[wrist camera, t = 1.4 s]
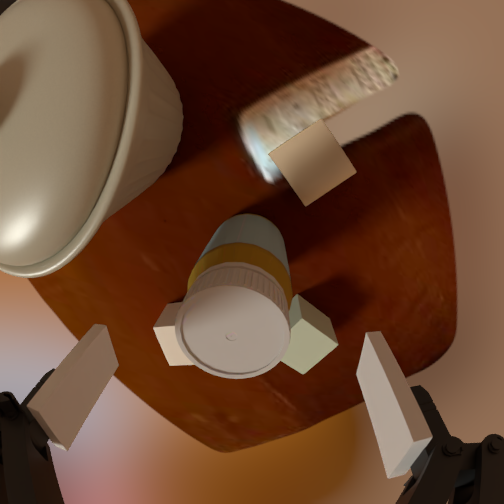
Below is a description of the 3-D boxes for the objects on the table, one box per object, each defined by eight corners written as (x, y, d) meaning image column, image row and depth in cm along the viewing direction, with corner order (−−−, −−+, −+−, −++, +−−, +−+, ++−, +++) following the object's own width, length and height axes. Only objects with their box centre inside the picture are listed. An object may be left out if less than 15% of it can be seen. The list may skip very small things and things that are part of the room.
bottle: (278, 206, 27) (291, 266, 13) (288, 274, 30) (303, 377, 15) (207, 218, 28) (150, 285, 14) (221, 283, 30) (187, 386, 16)
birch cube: (268, 154, 26) (268, 154, 21) (311, 124, 25) (321, 118, 20) (298, 197, 27) (305, 206, 22) (341, 168, 26) (356, 172, 21)
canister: (216, 211, 28) (109, 348, 8) (68, 219, 29) (-76, 297, 9) (212, 34, 22) (126, -114, 2) (63, 71, 23) (-82, 47, 3)
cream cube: (167, 303, 32) (153, 327, 27) (209, 298, 31) (200, 323, 26) (180, 339, 33) (169, 365, 28) (220, 335, 33) (213, 363, 28)
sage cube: (266, 324, 32) (266, 351, 27) (297, 293, 30) (302, 318, 26) (299, 346, 33) (303, 374, 28) (329, 318, 31) (338, 344, 26)
